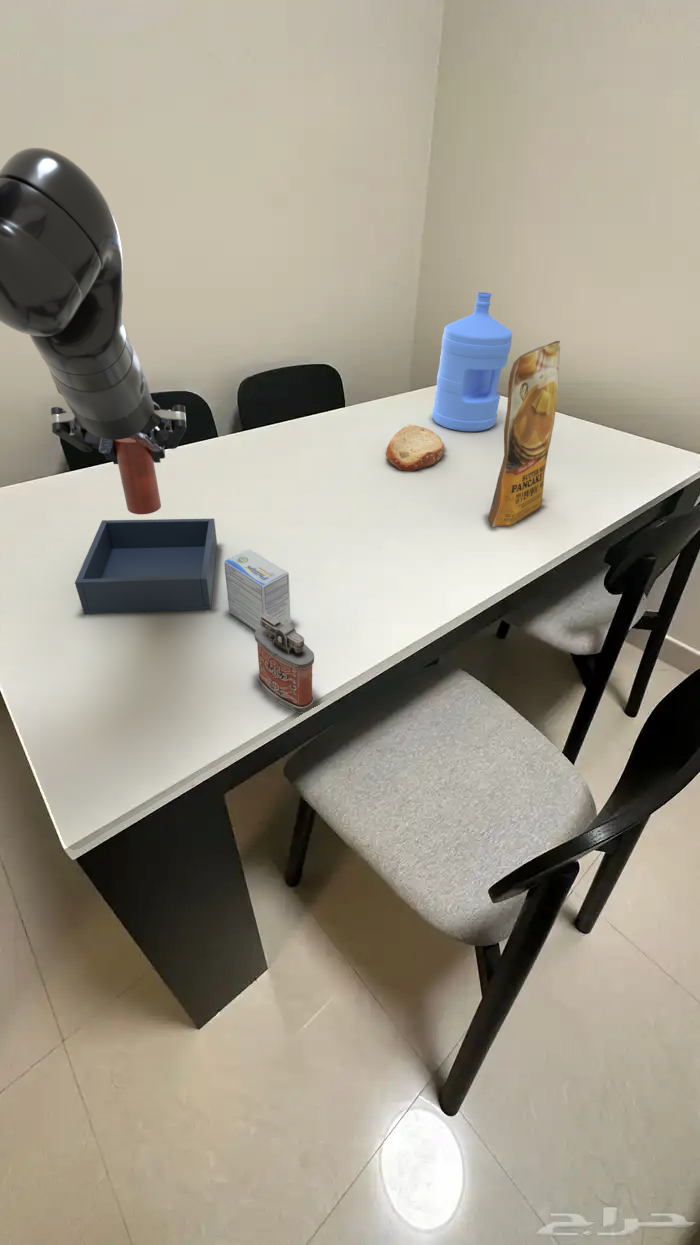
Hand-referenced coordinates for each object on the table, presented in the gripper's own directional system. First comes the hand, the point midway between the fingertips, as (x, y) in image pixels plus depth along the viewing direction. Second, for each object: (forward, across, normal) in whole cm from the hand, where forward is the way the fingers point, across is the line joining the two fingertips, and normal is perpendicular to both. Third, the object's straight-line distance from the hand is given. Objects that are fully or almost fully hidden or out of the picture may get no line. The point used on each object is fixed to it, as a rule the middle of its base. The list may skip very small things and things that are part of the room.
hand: (136, 455), depth 70 cm
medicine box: (+8, -13, +20) cm, 26 cm away
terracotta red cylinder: (+3, 0, +6) cm, 6 cm away
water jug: (+60, -69, -31) cm, 96 cm away
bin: (+17, +1, +12) cm, 20 cm away
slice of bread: (+47, -51, -19) cm, 72 cm away
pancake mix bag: (+27, -61, +2) cm, 67 cm away
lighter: (-2, -15, +30) cm, 34 cm away
